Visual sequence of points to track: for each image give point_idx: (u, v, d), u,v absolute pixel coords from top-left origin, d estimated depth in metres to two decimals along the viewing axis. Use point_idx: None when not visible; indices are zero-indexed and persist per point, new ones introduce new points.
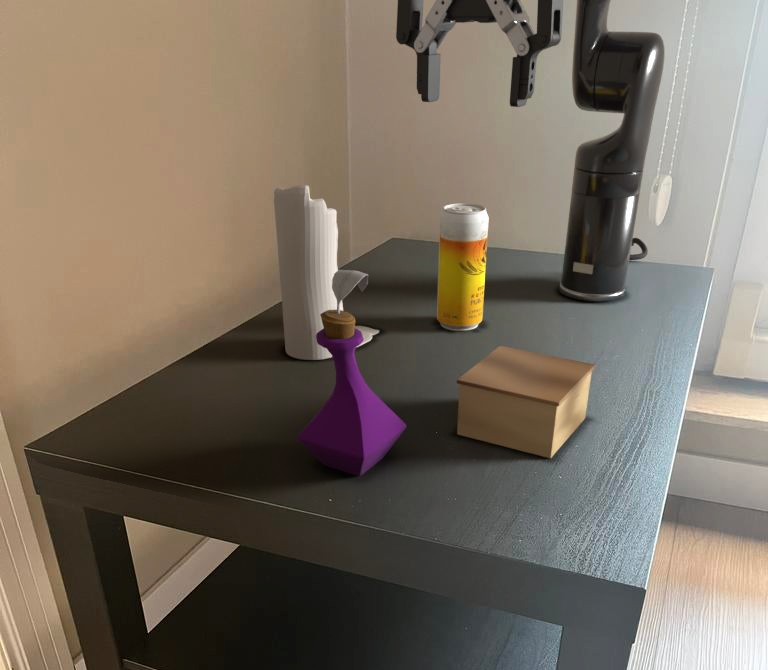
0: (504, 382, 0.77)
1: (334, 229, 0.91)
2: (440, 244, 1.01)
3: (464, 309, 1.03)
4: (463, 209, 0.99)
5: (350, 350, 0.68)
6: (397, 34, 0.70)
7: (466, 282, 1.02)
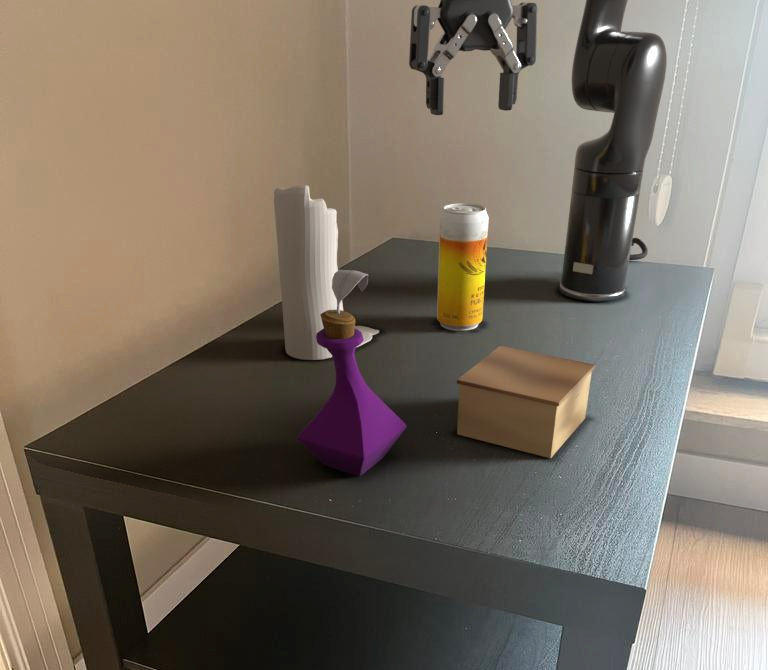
0: (504, 382, 0.77)
1: (334, 229, 0.91)
2: (440, 244, 1.01)
3: (464, 309, 1.03)
4: (463, 209, 0.99)
5: (350, 350, 0.68)
6: (418, 63, 0.85)
7: (466, 282, 1.02)
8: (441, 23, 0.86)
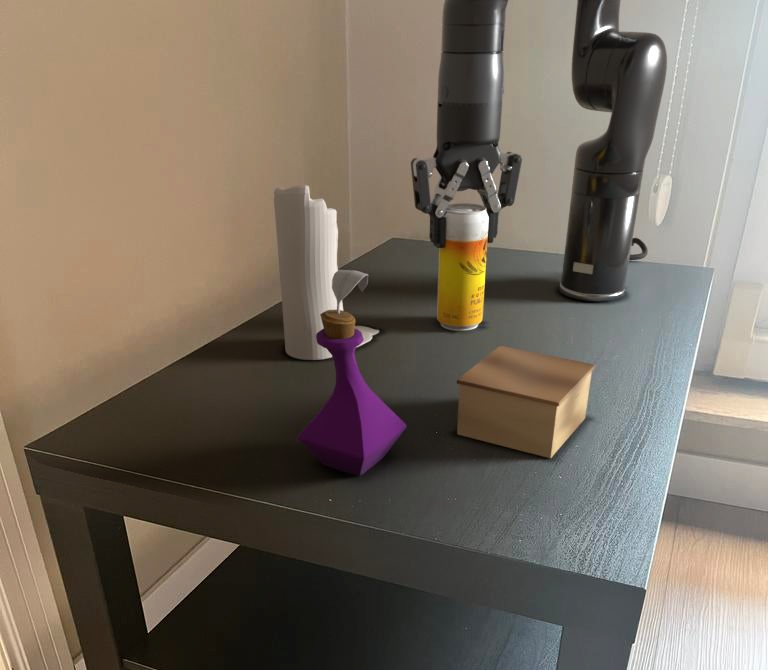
0: (504, 382, 0.77)
1: (334, 229, 0.91)
2: None
3: (464, 309, 1.03)
4: (463, 209, 0.99)
5: (350, 350, 0.68)
6: (423, 208, 0.96)
7: (466, 282, 1.02)
8: (437, 167, 0.96)
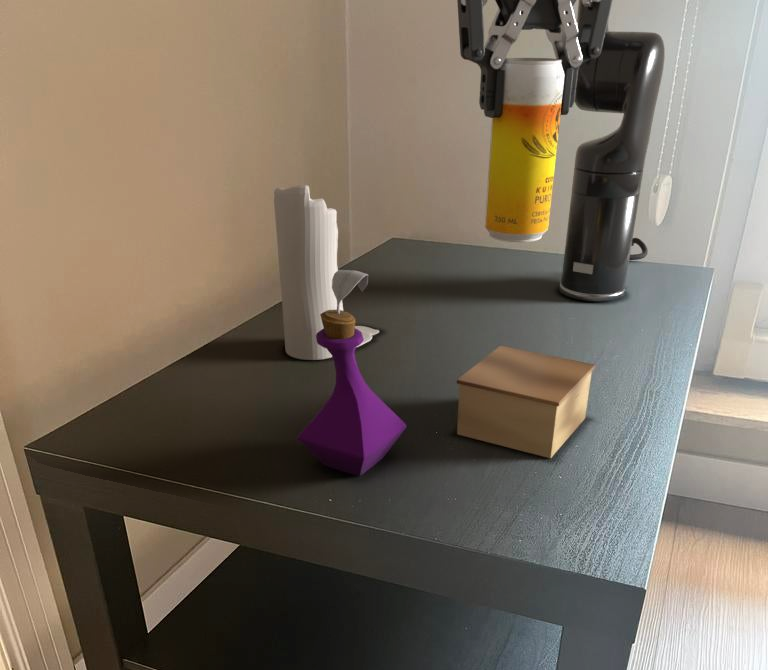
0: (504, 382, 0.77)
1: (334, 229, 0.91)
2: None
3: (525, 209, 0.74)
4: (529, 61, 0.70)
5: (350, 350, 0.68)
6: (473, 52, 0.67)
7: (530, 168, 0.72)
8: None
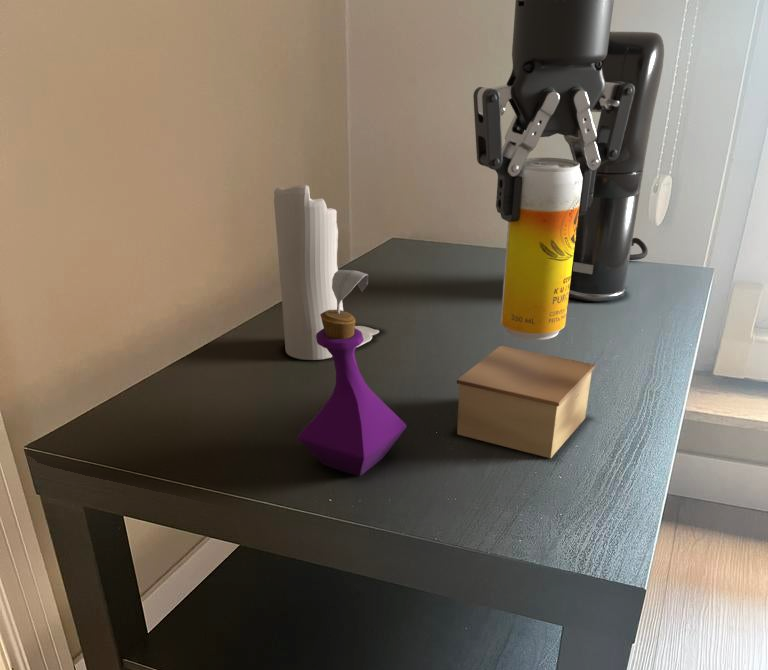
0: (504, 382, 0.77)
1: (334, 229, 0.91)
2: None
3: (542, 309, 0.73)
4: (546, 165, 0.68)
5: (350, 350, 0.68)
6: (490, 161, 0.66)
7: (548, 271, 0.71)
8: (511, 101, 0.65)
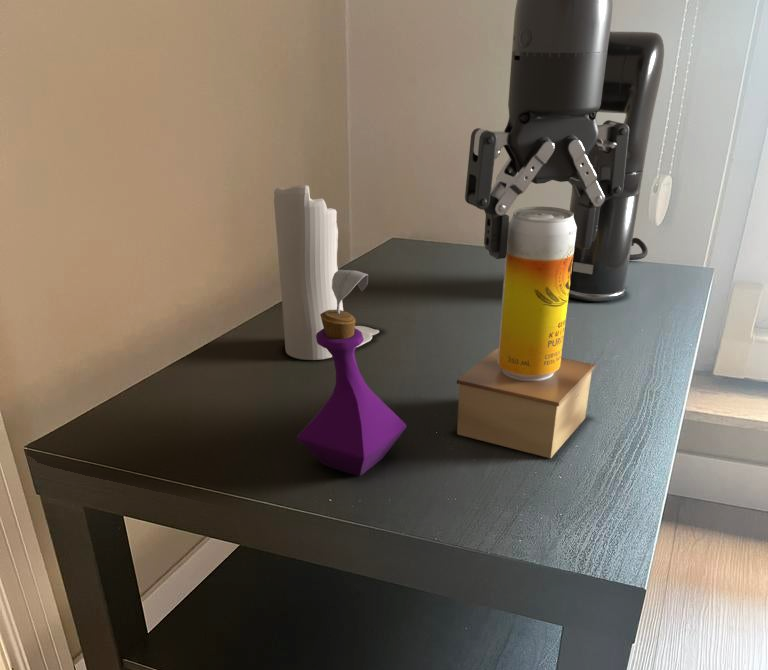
0: (504, 382, 0.77)
1: (334, 229, 0.91)
2: (507, 263, 0.73)
3: (538, 352, 0.75)
4: (541, 215, 0.71)
5: (350, 350, 0.68)
6: (478, 200, 0.67)
7: (543, 317, 0.73)
8: (507, 149, 0.67)
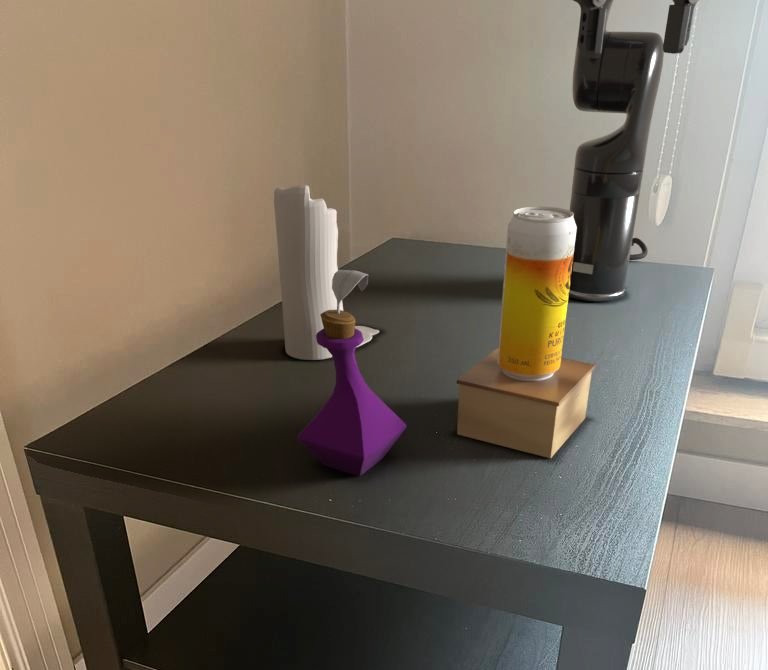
0: (504, 382, 0.77)
1: (334, 229, 0.91)
2: (507, 263, 0.73)
3: (538, 352, 0.75)
4: (541, 215, 0.71)
5: (350, 350, 0.68)
6: None
7: (543, 316, 0.73)
8: None
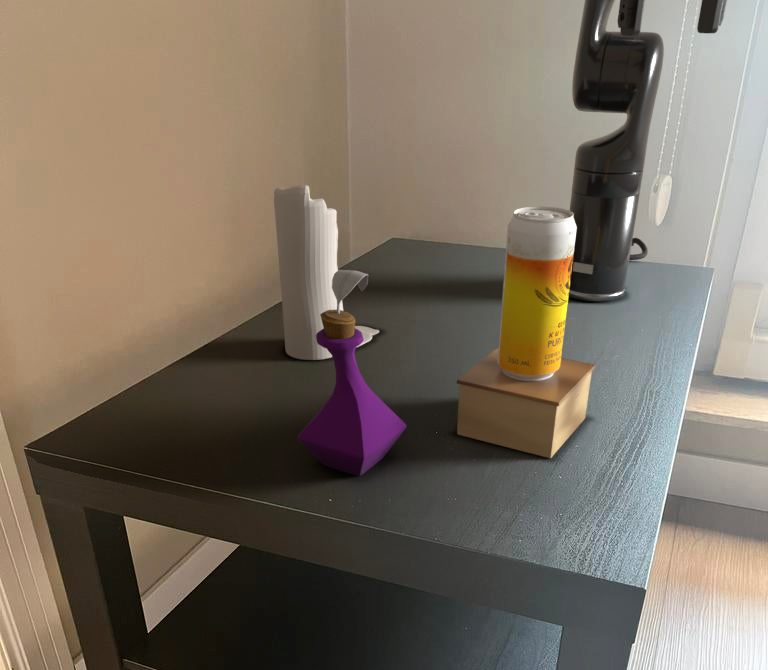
0: (504, 382, 0.77)
1: (334, 229, 0.91)
2: (507, 263, 0.73)
3: (538, 352, 0.75)
4: (541, 215, 0.71)
5: (350, 350, 0.68)
6: None
7: (543, 316, 0.73)
8: None
